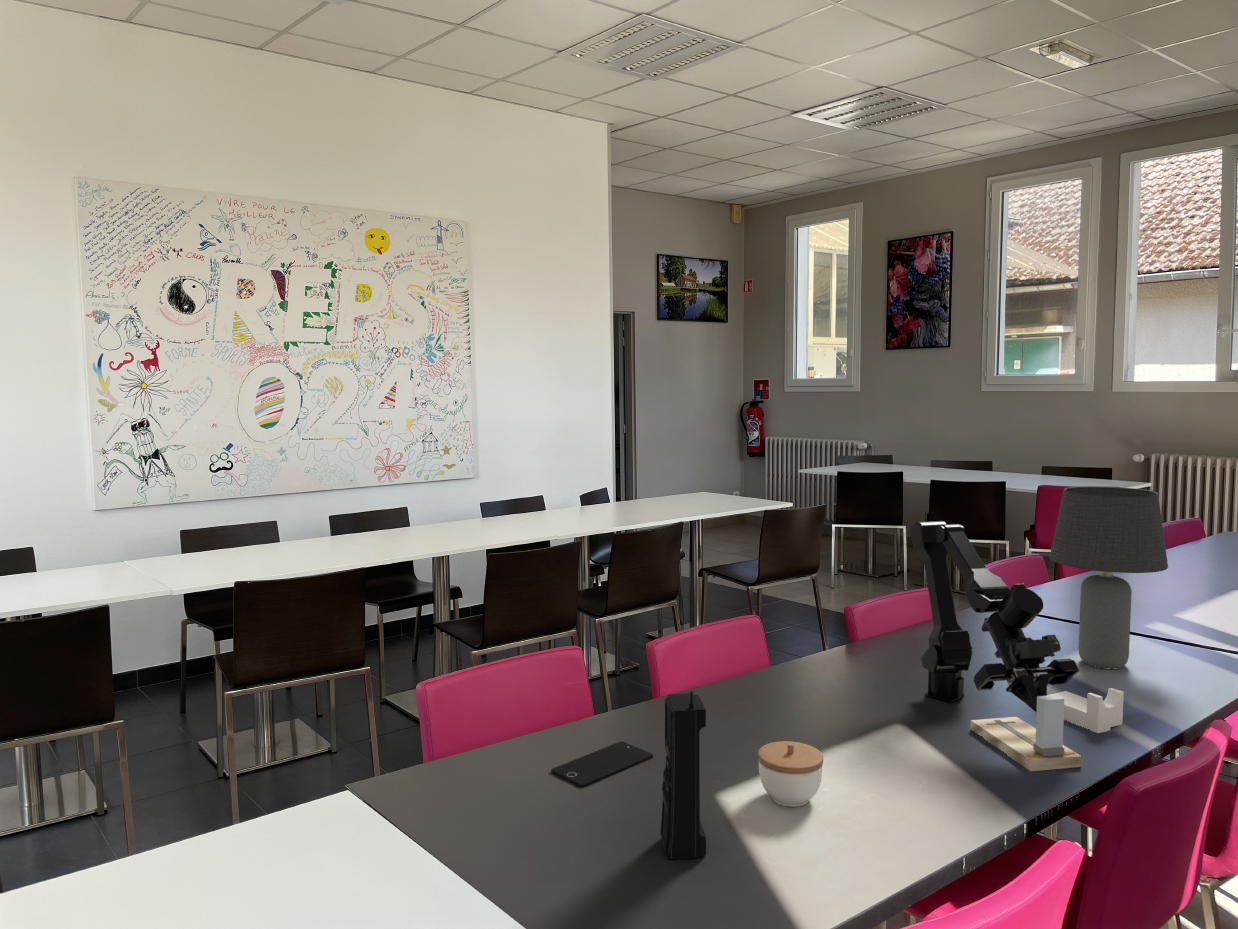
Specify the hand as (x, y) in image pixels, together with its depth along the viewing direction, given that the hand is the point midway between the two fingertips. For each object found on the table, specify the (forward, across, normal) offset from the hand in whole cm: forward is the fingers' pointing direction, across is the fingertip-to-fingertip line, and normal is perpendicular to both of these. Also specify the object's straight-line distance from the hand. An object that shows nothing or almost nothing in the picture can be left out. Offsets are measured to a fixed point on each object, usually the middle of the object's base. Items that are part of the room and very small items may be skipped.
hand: (1045, 717), depth 157 cm
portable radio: (+18, -72, -5) cm, 74 cm away
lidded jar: (+10, -51, +3) cm, 52 cm away
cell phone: (-4, -80, +16) cm, 81 cm away
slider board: (+2, 0, +10) cm, 10 cm away
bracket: (-6, +20, +18) cm, 28 cm away
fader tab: (+5, 0, +3) cm, 6 cm away
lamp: (-27, +50, +39) cm, 69 cm away
